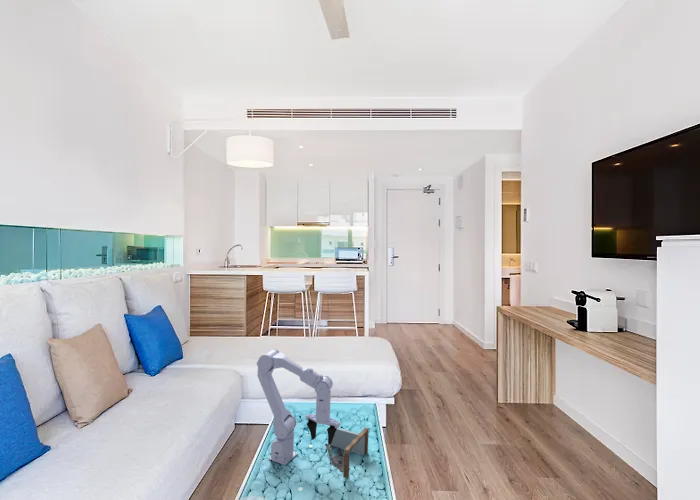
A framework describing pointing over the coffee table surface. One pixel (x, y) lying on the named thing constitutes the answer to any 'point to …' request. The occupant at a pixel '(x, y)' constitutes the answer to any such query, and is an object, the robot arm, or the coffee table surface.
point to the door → (348, 441)
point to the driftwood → (336, 458)
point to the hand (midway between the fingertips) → (321, 441)
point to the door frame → (350, 447)
